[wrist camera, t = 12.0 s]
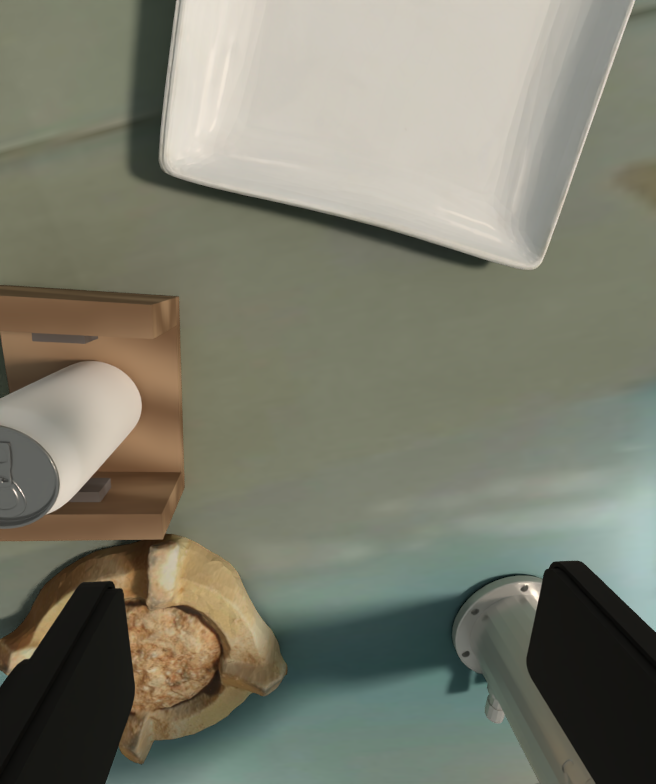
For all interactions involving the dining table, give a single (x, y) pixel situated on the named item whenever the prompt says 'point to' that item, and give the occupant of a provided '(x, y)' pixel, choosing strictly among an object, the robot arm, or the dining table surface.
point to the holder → (148, 372)
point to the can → (60, 436)
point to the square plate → (394, 110)
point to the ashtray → (169, 635)
